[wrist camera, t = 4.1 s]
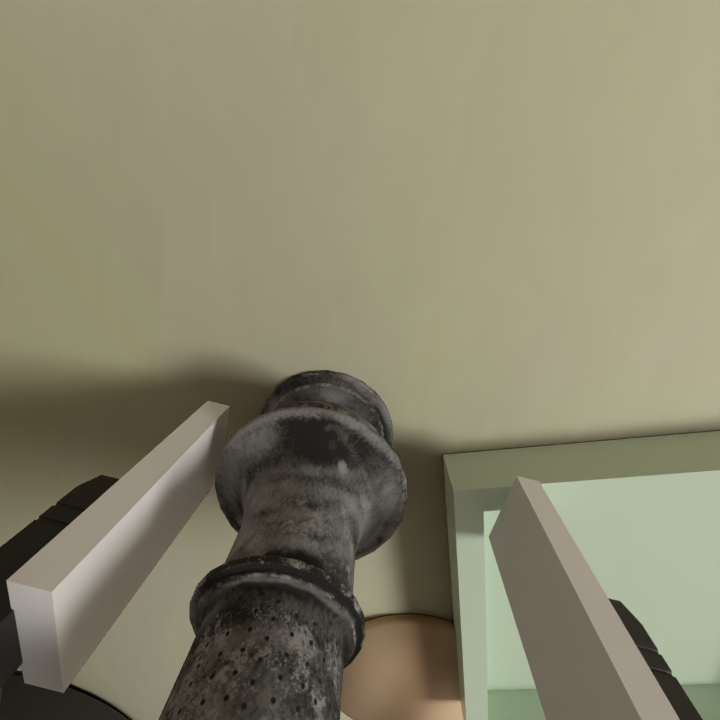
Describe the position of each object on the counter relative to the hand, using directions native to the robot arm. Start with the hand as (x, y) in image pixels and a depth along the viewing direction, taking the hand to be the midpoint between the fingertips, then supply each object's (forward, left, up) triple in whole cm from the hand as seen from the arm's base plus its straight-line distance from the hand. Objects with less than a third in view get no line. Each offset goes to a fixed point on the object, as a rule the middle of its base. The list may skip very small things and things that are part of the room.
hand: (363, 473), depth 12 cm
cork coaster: (+1, -15, -2) cm, 15 cm away
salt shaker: (-1, 0, -2) cm, 3 cm away
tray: (+11, -9, -2) cm, 14 cm away
